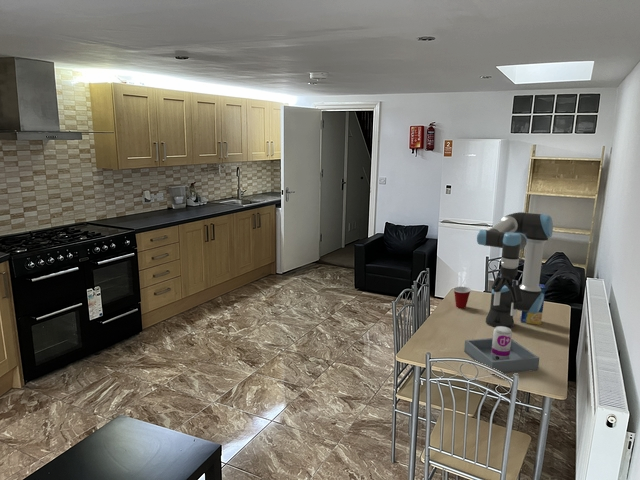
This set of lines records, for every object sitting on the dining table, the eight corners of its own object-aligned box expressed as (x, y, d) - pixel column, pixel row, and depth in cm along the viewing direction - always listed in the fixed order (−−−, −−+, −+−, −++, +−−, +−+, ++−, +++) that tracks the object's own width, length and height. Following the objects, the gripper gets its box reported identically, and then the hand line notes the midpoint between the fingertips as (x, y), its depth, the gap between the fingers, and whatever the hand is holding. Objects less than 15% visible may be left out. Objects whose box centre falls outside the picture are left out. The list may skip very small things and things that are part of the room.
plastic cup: (448, 304, 307) (450, 286, 304) (465, 303, 308) (466, 285, 306) (455, 310, 296) (457, 291, 294) (472, 309, 298) (474, 291, 295)
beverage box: (519, 318, 286) (523, 282, 281) (539, 320, 283) (544, 284, 278) (520, 322, 279) (524, 285, 275) (541, 324, 276) (545, 287, 271)
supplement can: (510, 363, 226) (513, 333, 223) (491, 361, 227) (495, 331, 224) (507, 355, 234) (510, 326, 230) (489, 353, 235) (492, 324, 232)
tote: (507, 347, 245) (508, 336, 243) (538, 369, 222) (539, 357, 221) (464, 351, 239) (465, 340, 238) (491, 374, 217) (492, 362, 215)
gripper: (486, 259, 233) (482, 301, 237) (518, 274, 209) (513, 320, 214) (500, 259, 234) (496, 300, 239) (533, 273, 211) (528, 319, 215)
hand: (504, 310), depth 226 cm, fingers open, 13 cm apart
